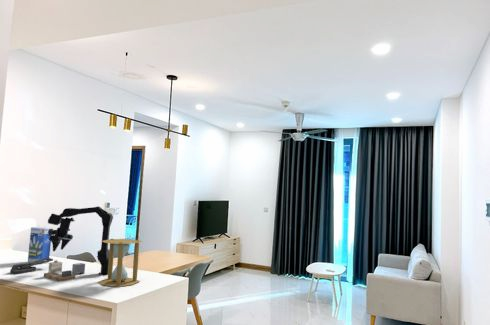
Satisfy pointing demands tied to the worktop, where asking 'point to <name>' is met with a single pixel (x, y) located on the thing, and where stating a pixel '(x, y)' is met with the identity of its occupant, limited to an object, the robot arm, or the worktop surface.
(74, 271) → the block
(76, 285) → the worktop surface
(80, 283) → the worktop surface
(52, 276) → the rail board
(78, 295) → the worktop surface
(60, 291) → the worktop surface
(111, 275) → the hourglass
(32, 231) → the blue printed box
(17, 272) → the dark grey stapler
